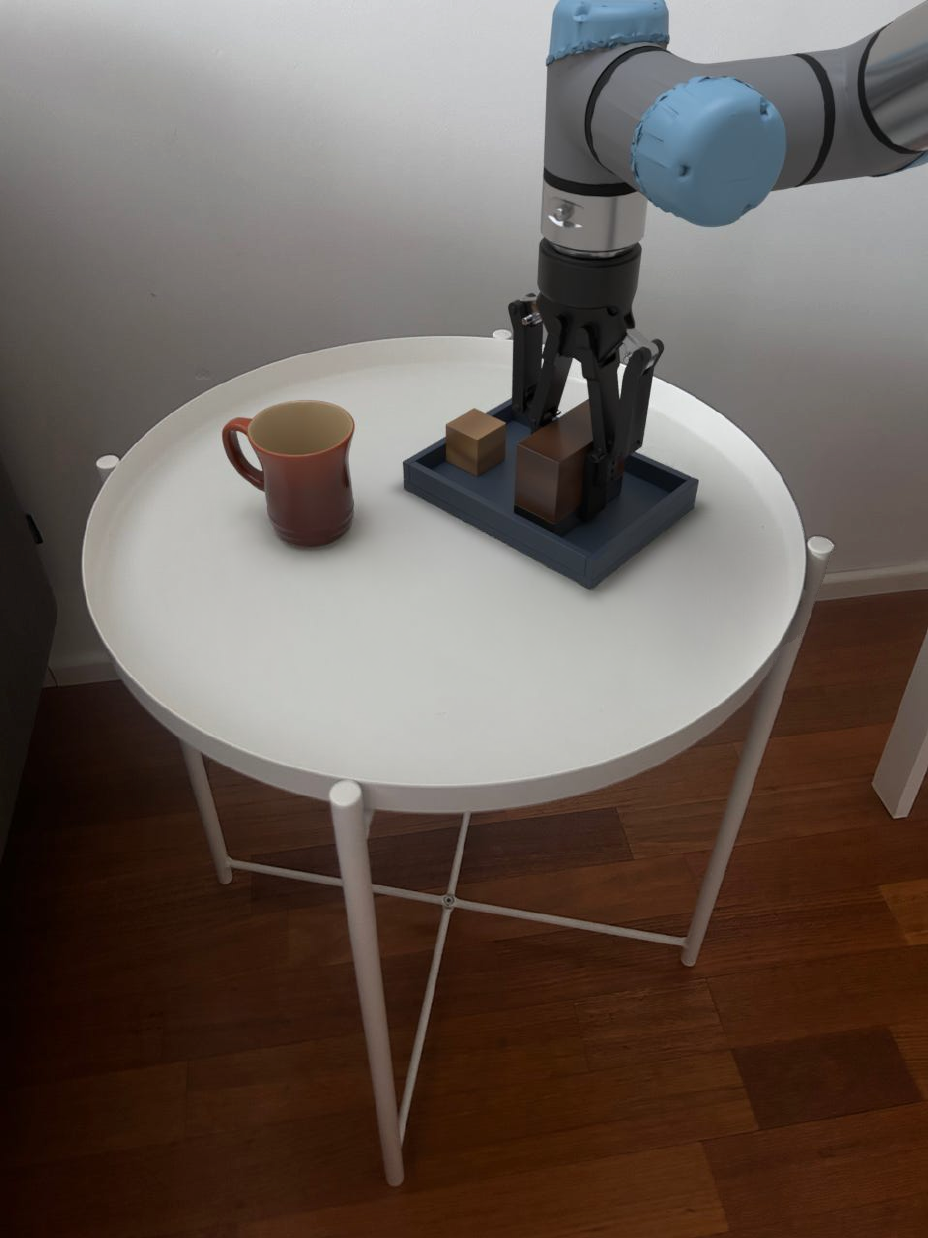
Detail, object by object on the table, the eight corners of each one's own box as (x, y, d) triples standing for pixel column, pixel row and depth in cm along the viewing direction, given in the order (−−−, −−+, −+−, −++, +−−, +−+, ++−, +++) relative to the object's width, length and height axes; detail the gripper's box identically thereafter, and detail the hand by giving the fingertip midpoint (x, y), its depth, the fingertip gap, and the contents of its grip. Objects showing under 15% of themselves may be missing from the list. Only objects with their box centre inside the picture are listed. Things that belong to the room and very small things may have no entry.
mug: (379, 511, 91) (372, 411, 84) (334, 568, 85) (323, 465, 78) (263, 482, 94) (247, 384, 87) (212, 535, 88) (191, 434, 81)
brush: (582, 474, 93) (589, 397, 88) (621, 492, 91) (631, 414, 86) (513, 522, 88) (516, 443, 83) (552, 543, 86) (558, 463, 80)
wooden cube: (505, 459, 95) (506, 422, 93) (477, 477, 93) (477, 439, 90) (473, 443, 97) (474, 407, 95) (445, 461, 95) (445, 424, 92)
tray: (694, 507, 91) (699, 479, 89) (590, 590, 83) (594, 561, 81) (511, 422, 102) (513, 396, 100) (403, 488, 94) (402, 461, 92)
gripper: (467, 223, 76) (466, 482, 91) (663, 289, 67) (625, 563, 83) (530, 196, 80) (519, 448, 96) (722, 255, 71) (676, 522, 87)
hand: (568, 501), depth 89 cm, fingers closed on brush, 4 cm apart
